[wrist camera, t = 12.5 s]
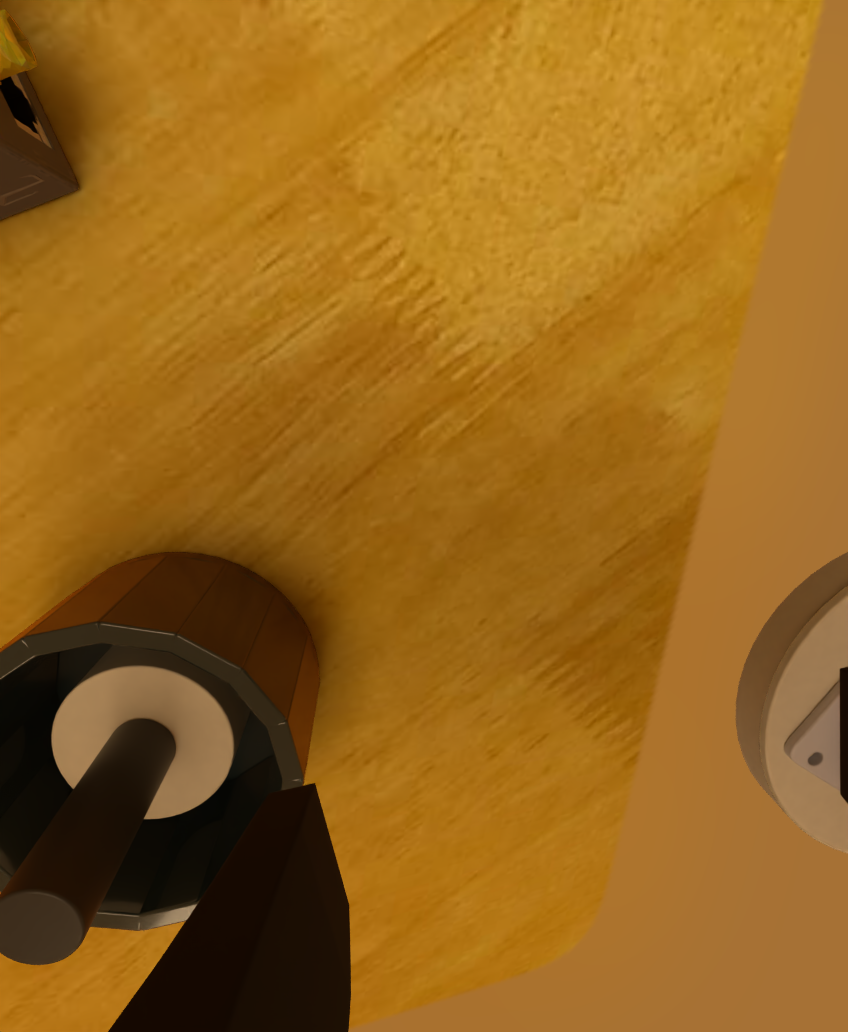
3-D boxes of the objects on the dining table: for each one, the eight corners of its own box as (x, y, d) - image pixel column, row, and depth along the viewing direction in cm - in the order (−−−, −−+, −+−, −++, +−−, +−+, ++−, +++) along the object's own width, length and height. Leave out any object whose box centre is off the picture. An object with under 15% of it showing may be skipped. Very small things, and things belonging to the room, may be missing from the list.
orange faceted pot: (368, 637, 18) (367, 735, 14) (236, 825, 20) (193, 975, 15) (129, 499, 17) (31, 555, 12) (2, 715, 18) (-133, 843, 13)
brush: (283, 661, 18) (216, 889, 10) (209, 770, 19) (95, 1060, 11) (148, 587, 17) (-37, 775, 9) (76, 705, 18) (-152, 971, 10)
